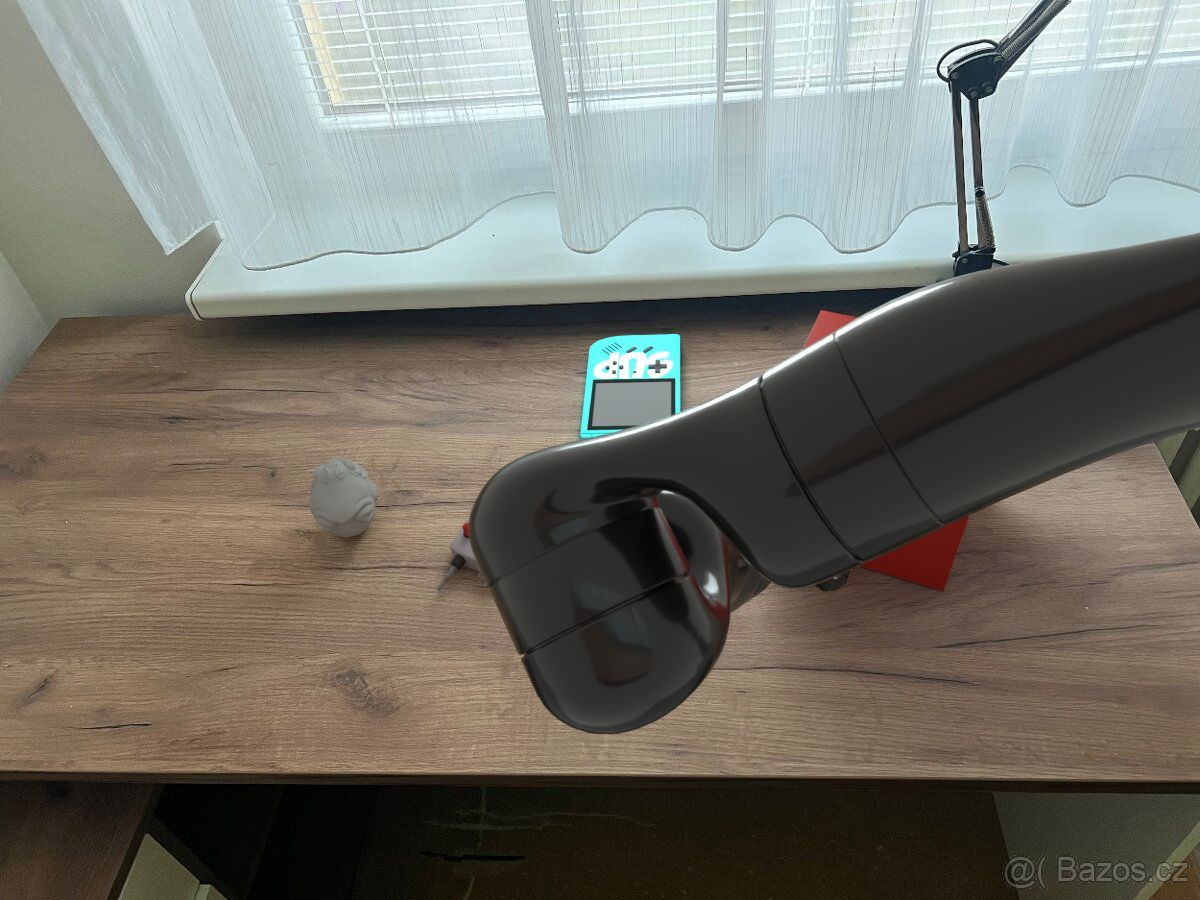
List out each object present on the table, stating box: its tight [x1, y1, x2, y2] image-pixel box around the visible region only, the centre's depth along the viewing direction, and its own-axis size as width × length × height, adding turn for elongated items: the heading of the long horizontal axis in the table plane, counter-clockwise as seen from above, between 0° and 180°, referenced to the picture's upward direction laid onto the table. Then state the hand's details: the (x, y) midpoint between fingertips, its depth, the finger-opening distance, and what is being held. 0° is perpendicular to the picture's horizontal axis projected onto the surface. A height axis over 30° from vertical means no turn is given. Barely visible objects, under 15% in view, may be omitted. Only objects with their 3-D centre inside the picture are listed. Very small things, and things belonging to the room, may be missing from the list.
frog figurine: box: [308, 456, 379, 538], centre depth 79 cm, size 6×7×7 cm
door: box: [860, 516, 970, 592], centre depth 67 cm, size 6×15×16 cm, turn 64°
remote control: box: [436, 518, 488, 592], centre depth 78 cm, size 7×16×3 cm, turn 154°
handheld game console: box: [579, 333, 683, 440], centre depth 91 cm, size 10×16×1 cm, turn 176°
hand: (758, 528), depth 63 cm, fingers open, 8 cm apart
